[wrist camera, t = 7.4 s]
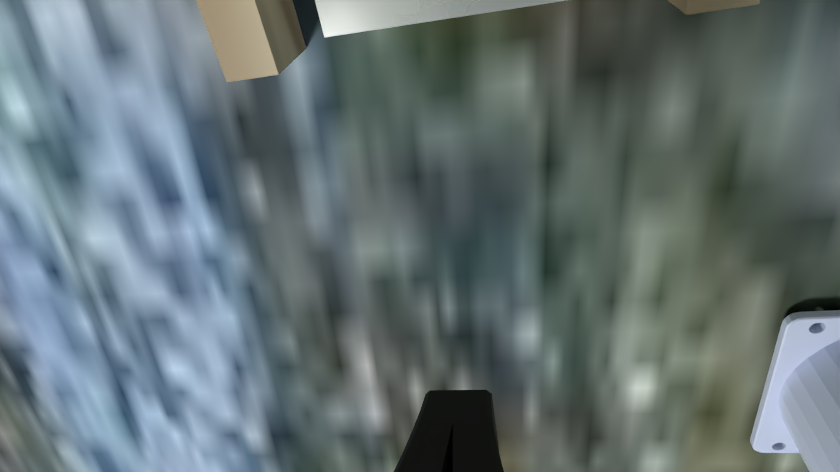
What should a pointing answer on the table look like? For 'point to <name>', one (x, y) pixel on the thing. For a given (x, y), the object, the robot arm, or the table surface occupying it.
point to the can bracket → (282, 37)
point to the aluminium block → (402, 12)
